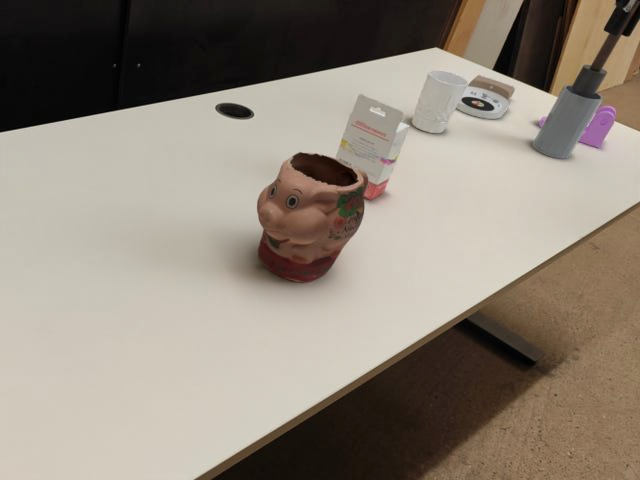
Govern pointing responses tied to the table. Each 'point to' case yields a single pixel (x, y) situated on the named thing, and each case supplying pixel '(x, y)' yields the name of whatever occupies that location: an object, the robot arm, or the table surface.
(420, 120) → the white cup
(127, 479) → the table surface
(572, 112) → the grey cylindrical holder
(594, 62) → the brush
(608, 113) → the bracket
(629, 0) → the robot arm
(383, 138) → the ink cartridge box
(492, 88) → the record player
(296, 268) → the decorative planter
